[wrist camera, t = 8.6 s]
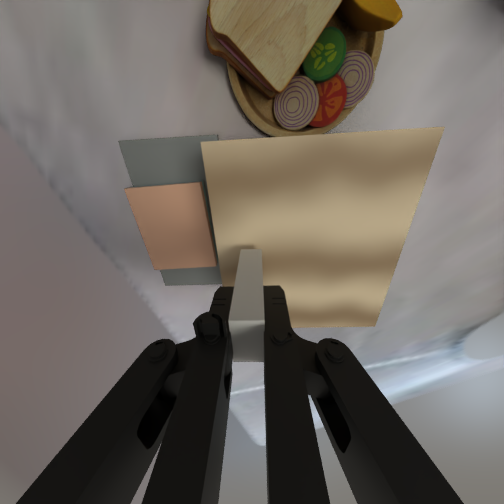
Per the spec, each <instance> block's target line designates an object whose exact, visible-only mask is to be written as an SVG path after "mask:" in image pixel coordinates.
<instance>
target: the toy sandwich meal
mask: <svg viewBox="0 0 504 504" xmlns="http://www.w3.org/2000/svg"><path fill="white" fill-rule="evenodd" d="M401 18H402V11H401V9H400V7H399V5H398V4H397V2H396V1H395V0H209V6H208V8H207V19H206V40H207V45H208V48H209V51H210V53H211V54H213V55H215V56H219V57H222V58H224V59H225V60H226V61H227V69H228V75H229V79H230V83H231V86H232V89H233V92H234V95H235V97H236V99H237V101H238V103H239V105H240V107H241V108H242V110H243V112H244V113H245V115H246V116H247V117H248V118H249V120H250V121H251V122H252V123H253V124H254V125H255V126H256V127H258V128H259V129H260V130H261V131H263V132H264V133H266V134H268V135H270V136H272V137H287V136H303V135H319V134H324V133H326V132H328V131H330V130H331V129H333V128H334V127H336V126H337V125H338V124H339V123H341V122H342V121H343V120H344V119H345V118H346V117H347V116H348V115H349V114H350V113H351V112H352V110H353V109H354V108H355V107H356V105H357V104H358V103H359V102H361V101H362V100H363V99H364V97H365V96H366V95H367V93H368V92H369V90H370V88H371V86H372V84H373V81H374V74H375V70H376V67H377V64H378V61H379V57H380V53H381V49H382V44H383V38H384V30H387V29H390V28H392V27H393V26H395V25H396V24H397V23H398V21H399V20H400V19H401Z"/></svg>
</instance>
